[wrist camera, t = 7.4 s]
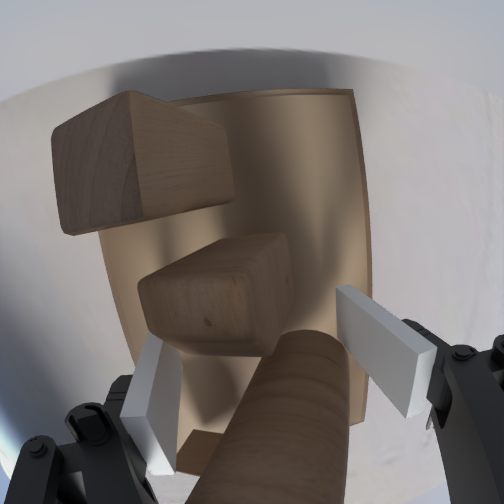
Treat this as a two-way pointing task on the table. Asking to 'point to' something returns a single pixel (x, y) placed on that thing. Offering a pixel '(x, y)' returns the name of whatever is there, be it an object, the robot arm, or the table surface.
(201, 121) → the wooden block set
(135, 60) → the table surface
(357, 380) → the plinth
